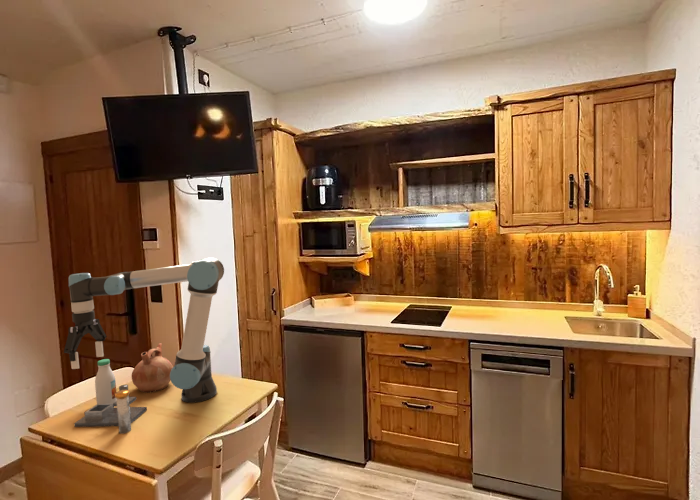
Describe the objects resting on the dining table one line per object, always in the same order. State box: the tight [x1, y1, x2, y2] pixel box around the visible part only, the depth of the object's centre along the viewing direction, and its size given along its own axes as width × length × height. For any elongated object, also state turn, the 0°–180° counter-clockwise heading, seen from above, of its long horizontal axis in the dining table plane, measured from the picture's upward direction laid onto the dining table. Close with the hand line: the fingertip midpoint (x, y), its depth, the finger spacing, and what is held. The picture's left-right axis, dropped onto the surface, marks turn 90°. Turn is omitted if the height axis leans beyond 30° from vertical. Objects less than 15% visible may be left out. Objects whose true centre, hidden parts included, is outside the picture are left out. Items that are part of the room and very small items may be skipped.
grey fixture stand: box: [73, 384, 148, 428], centre depth 159 cm, size 22×13×14 cm, turn 87°
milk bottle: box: [94, 358, 117, 404], centre depth 173 cm, size 8×8×20 cm
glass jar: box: [115, 389, 132, 435], centre depth 149 cm, size 5×5×15 cm
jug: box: [131, 342, 174, 394], centre depth 189 cm, size 18×18×20 cm
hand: (88, 362), depth 159 cm, fingers open, 13 cm apart
